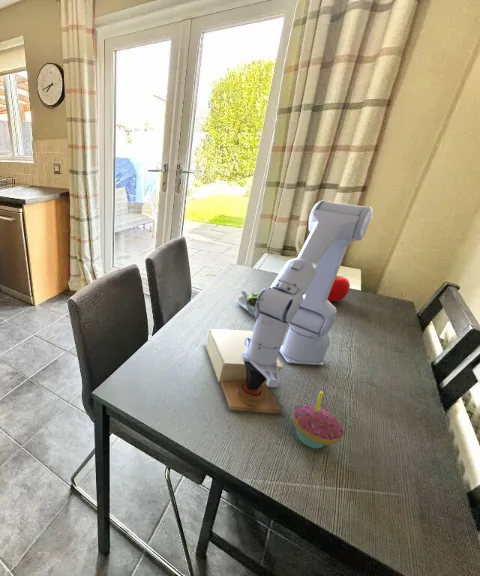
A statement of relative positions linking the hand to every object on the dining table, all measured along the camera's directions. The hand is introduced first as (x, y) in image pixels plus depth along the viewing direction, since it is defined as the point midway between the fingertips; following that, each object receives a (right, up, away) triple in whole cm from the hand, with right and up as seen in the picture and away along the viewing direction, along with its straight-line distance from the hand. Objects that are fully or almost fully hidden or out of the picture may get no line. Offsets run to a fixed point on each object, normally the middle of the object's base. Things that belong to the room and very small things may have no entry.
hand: (251, 387), depth 72 cm
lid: (+2, +7, +9) cm, 12 cm away
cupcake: (+8, -8, -8) cm, 14 cm away
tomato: (+52, +24, +44) cm, 72 cm away
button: (0, -1, +1) cm, 2 cm away
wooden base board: (0, -3, +2) cm, 3 cm away
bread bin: (+2, +2, +12) cm, 13 cm away
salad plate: (+24, +16, +39) cm, 48 cm away
